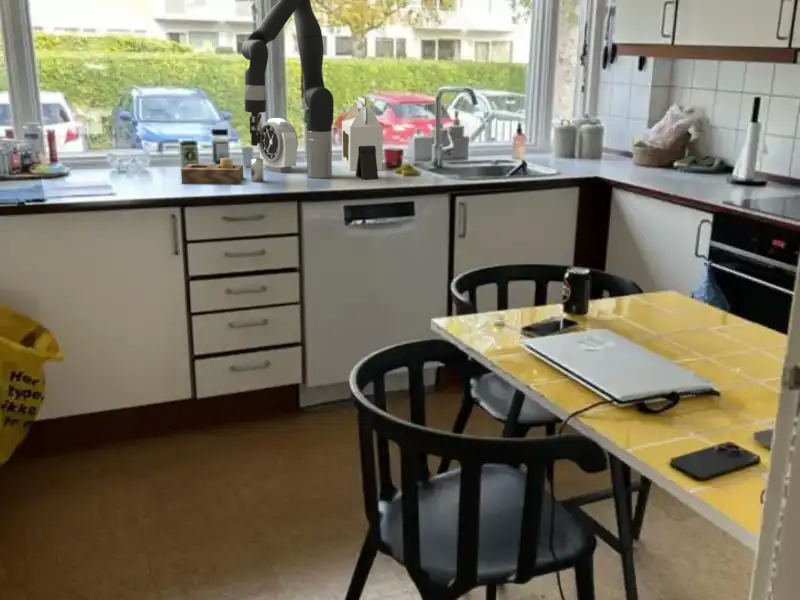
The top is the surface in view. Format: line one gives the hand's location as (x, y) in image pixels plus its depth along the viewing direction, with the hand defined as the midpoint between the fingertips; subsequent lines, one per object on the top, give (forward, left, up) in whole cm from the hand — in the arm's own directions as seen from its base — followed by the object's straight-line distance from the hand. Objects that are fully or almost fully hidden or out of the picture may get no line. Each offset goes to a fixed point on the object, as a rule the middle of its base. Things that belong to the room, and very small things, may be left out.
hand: (256, 144), depth 309 cm
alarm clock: (-5, -28, -14) cm, 31 cm away
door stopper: (-40, -12, -14) cm, 44 cm away
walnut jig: (+16, 0, -13) cm, 21 cm away
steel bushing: (0, 0, -13) cm, 13 cm away
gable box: (-38, -41, -14) cm, 58 cm away
